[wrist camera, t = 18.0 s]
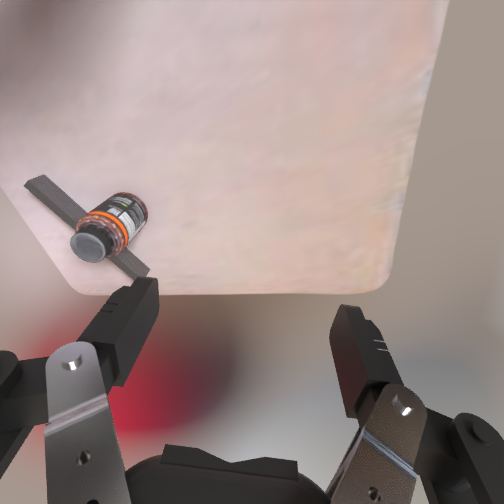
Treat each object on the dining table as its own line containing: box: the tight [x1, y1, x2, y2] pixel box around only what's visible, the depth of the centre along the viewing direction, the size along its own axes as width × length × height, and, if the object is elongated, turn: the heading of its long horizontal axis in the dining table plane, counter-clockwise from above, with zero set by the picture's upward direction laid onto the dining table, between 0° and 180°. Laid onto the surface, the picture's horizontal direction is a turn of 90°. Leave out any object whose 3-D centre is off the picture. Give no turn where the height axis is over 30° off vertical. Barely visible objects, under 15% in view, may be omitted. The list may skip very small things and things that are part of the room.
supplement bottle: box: [70, 192, 148, 262], centre depth 36 cm, size 6×6×11 cm
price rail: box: [24, 175, 150, 280], centre depth 42 cm, size 20×2×3 cm, turn 38°
